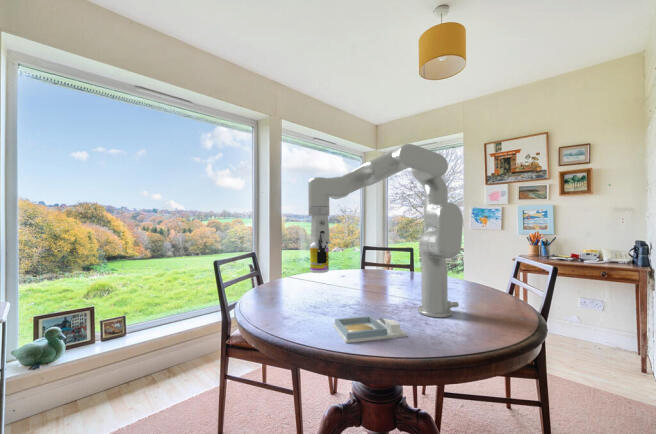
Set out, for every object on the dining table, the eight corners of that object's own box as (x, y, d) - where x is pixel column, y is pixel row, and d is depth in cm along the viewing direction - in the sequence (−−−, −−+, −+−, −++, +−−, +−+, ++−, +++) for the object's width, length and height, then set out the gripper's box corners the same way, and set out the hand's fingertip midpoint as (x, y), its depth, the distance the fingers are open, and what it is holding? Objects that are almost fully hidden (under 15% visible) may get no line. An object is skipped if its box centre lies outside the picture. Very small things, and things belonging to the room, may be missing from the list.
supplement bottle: (326, 273, 101) (326, 236, 101) (308, 273, 102) (307, 236, 102) (330, 270, 107) (330, 235, 107) (313, 269, 109) (312, 235, 109)
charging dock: (387, 321, 104) (387, 312, 104) (407, 336, 90) (407, 325, 91) (333, 326, 99) (333, 316, 99) (345, 343, 86) (345, 332, 86)
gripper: (335, 211, 97) (336, 264, 97) (323, 212, 114) (324, 258, 114) (313, 211, 95) (313, 266, 95) (304, 212, 112) (305, 259, 112)
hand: (319, 261), depth 105 cm, fingers closed on supplement bottle, 6 cm apart
